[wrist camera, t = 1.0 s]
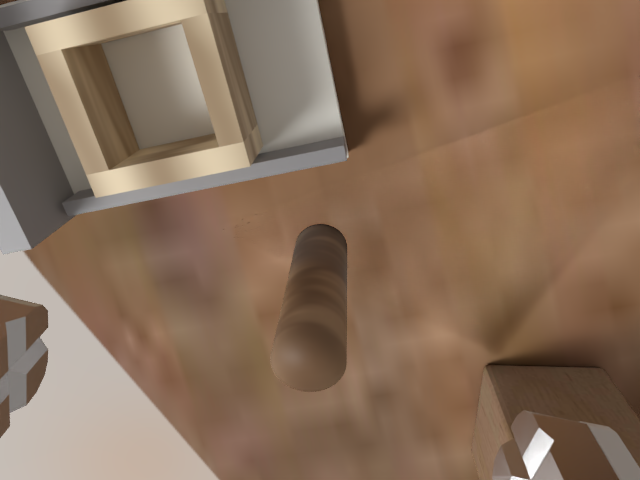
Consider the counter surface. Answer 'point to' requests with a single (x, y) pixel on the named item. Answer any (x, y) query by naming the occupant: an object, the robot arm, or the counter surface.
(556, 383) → the wooden block
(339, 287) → the dowel
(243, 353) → the counter surface
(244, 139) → the socket block
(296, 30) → the rail base
